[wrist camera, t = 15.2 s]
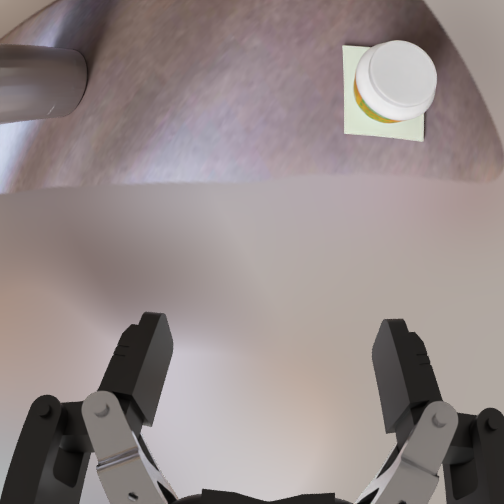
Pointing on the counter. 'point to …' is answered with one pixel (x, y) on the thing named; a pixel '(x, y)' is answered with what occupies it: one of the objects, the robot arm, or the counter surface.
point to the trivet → (362, 123)
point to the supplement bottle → (394, 82)
